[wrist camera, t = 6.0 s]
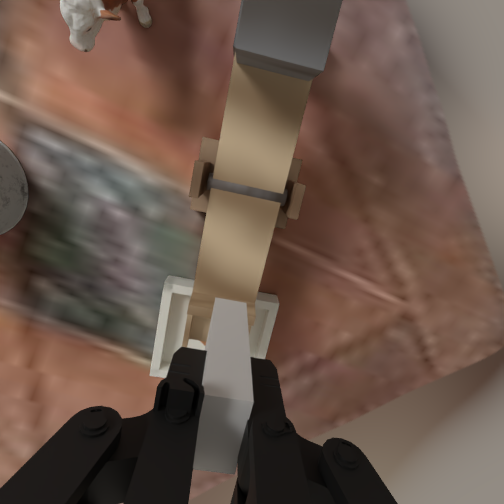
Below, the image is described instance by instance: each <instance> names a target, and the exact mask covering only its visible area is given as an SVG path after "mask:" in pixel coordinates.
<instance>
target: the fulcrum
mask: <svg viewBox="0 0 504 504" xmlns="http://www.w3.org/2000/svg"><path fill="white" fill-rule="evenodd" d="M218 146H219V140H215V139H210V138H206V137H202V143H201V148H200V154H199V160H198V161H195V163H194V169H193V175H192V181H191V187H190V193H189V197H192V201H191V207H190V209H191V210H196V211H201V212H206V213H207V207H208V202H209V196H210V191H211V190H207V182H208V177H209V173H214V168H215V163H216V157H217V151H218ZM301 164H302V160H300V159H296V158H292V161H291V165H290V169H289V173H288V177H287V181H286V185H285V189H287V190H288V193H287V199H286V202H285V205H284V206H280V208H279V212H278V216H277V220H276V223H275V227H277V228H282V229H285V227H286V223H287V219H288V217H289V218H291V219H296V220H297V219H298V215H299V212H300V208H301V204H302V200H303V196H304V192H305V188H306V185H303V184H301V183H298V182H297V179H298V175H299V171H300V167H301Z"/></svg>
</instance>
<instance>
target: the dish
mask: <svg viewBox="0 0 504 504" xmlns="http://www.w3.org/2000/svg"><path fill="white" fill-rule="evenodd" d="M193 286H194V280H193V279H188V278H182V277H177V276H172V275H168V277H167V279H166V281H165V282H164V288H163V294H162V300H161V306H160V313H159V319H158V325H157V332H156V338H155V344H154V350H153V357H152V363H151V369H150V376H155V377H162V378H166V376H167V373H168V370H169V367H170V364H171V360H172V357H173V354H174V353H175V352H176V351H177V350H178V349H179V348H180V347H182V343H183V337H184V331H185V326H186V320H187V310H188V305H189V301H190V298H191V295H192V292H193ZM278 308H279V301H278V297H277V295H273V294H268V293H262V292H258V293H257V297H256V301H255V312H256V318H255V322H254V326H251V330H250V334H249V345H250V357H254V358H260V359H265V357H266V353H267V349H268V346H269V342H270V338H271V334H272V330H273V327H274V323H275V319H276V315H277V311H278ZM187 348H193V349H199V350H205V345H203V344H202V343H201V341H199V340H193V339H189V341H188V345H187Z"/></svg>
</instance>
